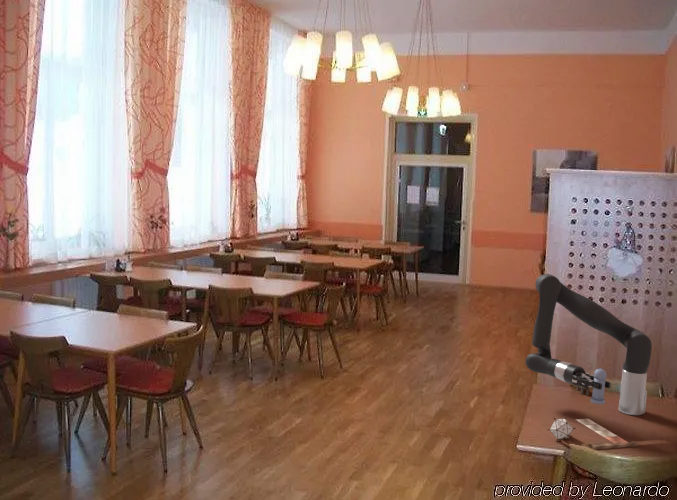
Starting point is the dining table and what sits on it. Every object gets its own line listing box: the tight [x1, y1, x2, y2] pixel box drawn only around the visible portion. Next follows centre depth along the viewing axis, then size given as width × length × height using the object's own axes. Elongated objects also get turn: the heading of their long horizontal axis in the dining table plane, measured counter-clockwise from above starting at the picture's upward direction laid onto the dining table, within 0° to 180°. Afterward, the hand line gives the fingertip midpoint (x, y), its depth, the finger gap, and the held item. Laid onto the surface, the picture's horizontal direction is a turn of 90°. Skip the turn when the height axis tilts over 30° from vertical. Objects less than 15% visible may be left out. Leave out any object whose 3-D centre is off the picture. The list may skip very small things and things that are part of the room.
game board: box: [575, 418, 639, 450], centre depth 268 cm, size 18×26×1 cm
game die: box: [547, 416, 576, 442], centre depth 261 cm, size 9×8×10 cm
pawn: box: [589, 368, 608, 405], centre depth 270 cm, size 5×5×13 cm
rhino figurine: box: [575, 385, 590, 396], centre depth 320 cm, size 4×14×6 cm, turn 2°
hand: (605, 386), depth 268 cm, fingers closed on pawn, 4 cm apart
